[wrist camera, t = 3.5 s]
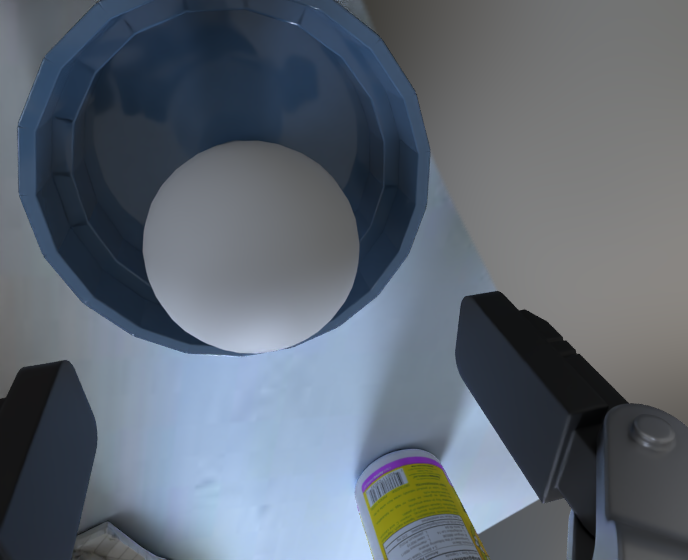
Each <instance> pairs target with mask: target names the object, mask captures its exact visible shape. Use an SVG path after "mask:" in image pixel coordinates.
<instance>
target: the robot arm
mask: <svg viewBox="0 0 688 560" xmlns="http://www.w3.org/2000/svg"><path fill="white" fill-rule="evenodd" d="M455 357H456V364H457V368H458V371H459V374H460V376H461V378H462V379H463V381H464V383H465V384H466V386H467V387H468V389H469V390H470V392H471V393H472V395H473V396H474V398H475V400H476V401H477V403H478V404H479V406H480V407H481V409H482V410H483V412H484V414H485V415H486V417H487V418H488V420H489V421H490V423H491V424H492V426H493V427H494V429H495V431H496V432H497V434H498V435H499V437H500V438H501V440H502V441H503V443H504V445H505V446H506V448H507V449H508V451H509V452H510V454H511V455H512V457H513V458H514V460H515V462H516V463H517V465H518V466H519V468H520V469H521V471H522V472H523V474H524V475H525V477H526V479H527V480H528V482H529V483H530V485H531V486H532V488H533V489H534V491H535V493H536V494H537V496H538V497H539V499H540V500H541V502H542V503H547V502H551V501H555V500H559V499H562V498H565V500H566V501H567V502H568V504H569V506H570V507H571V508H572V510H571V513H570V516H569V524H568V541H567V559H566V560H688V427H687V426H686V425H685V424H683V423H682V422H681V421H679V420H678V419H677V418H675V417H674V416H672V415H670V414H668V413H666V412H664V411H662V410H660V409H657V408H654V407H651V406H648V405H642V404H633V403H630V404H629V403H628V402H627V401H626V400H625V399H624V398H623V397H622V396H621V395H620V394H619V393H618V392H617V391H616V390H615V389H614V388H613V387H612V386H611V385H610V384H609V383H608V382H607V381H606V380H605V379H604V378H603V377H602V376H601V375H600V374H599V373H598V372H597V371H596V370H595V369H594V368H593V367H592V366H591V365H590V364H589V363H588V362H587V361H586V360H585V359H584V358H583V357H582V356H581V355H580V354H577V353H576V350H575V349H574V348H573V347H572V346H571V345H570V344H569V343H568V342H567V341H564V340H563V337H562V336H561V335H560V334H559V333H558V332H557V331H556V330H555V329H554V328H553V327H552V326H551V325H550V324H549V323H548V322H547V321H545V320H543V319H541V318H540V317H538V316H536V315H534V314H532V313H530V312H529V311H527V310H520V311H519V310H518V309H517V308H516V307H515V306H514V305H513V304H512V303H511V302H510V301H509V300H508V299H507V298H506V297H505V296H504V295H503V294H502V293H501V292H499V291H494V292H488V293H482V294H476V295H470V296H465V297H464V298H463V300H462V302H461V307H460V316H459V324H458V332H457V341H456V349H455ZM96 448H97V427H96V421H95V418H94V415H93V412H92V410H91V408H90V405H89V403H88V400H87V398H86V395H85V393H84V391H83V388H82V386H81V383H80V381H79V379H78V376H77V374H76V371H75V369H74V367H73V365H72V364H71V363H70V362H69V361H67V360H64V361H58V362H52V363H46V364H40V365H34V366H28V367H23V368H21V369H20V370H19V372H18V373H17V375H16V378H15V380H14V382H13V384H12V386H11V388H10V390H9V392H8V394H7V397H6V398H2V399H0V560H71V558H72V554H73V550H74V545H75V541H76V536H77V532H78V528H79V523H80V519H81V515H82V510H83V506H84V501H85V497H86V493H87V488H88V484H89V480H90V475H91V471H92V466H93V462H94V458H95V453H96Z"/></svg>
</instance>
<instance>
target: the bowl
mask: <svg viewBox="0 0 688 560" xmlns="http://www.w3.org/2000/svg"><path fill="white" fill-rule="evenodd" d="M17 139H18V192H19V197H20V199H21V202H22V204H23V207H24V209H25V212H26V214H27V217H28V219H29V222H30V224H31V227H32V229H33V232H34V234H35V237H36V239H37V242H38V245H39V247H40V250H41V252H42V254H43V256H44V258H45V259H46V260H47V261H48V263H49V264H50V265H51V266H52V267H53V268H54V270H55V271H56V272H57V273H58V274H59V276H60V277H61V278H62V279H63V280H64V281H65V283H66V284H67V285H68V286H69V287H70V289H71V290H72V291H73V292H74V293H75V294H76V296H77V297H78V298H79V299H80V300H81V302H82V303H84V304H85V305H86V306H88V307H89V308H91V309H93V310H94V311H96V312H97V313H99V314H100V315H102V316H103V317H105V318H106V319H108V320H109V321H111V322H112V323H114V324H115V325H117V326H119V327H120V328H122V329H123V330H125V331H126V332H128V333H129V334H131V335H134V336H135V337H138V338H141V339H144V340H147V341H150V342H153V343H156V344H159V345H162V346H165V347H168V348H172V349H175V350H178V351H181V352H184V353H188V354H203V355H218V356H234V357H240V356H241V357H243V356H249V355H255V354H256V353H238V352H232V351H227V350H223V349H220V348H217V347H215V346H212V345H209V344H207V343H205V342H203V341H201V340H199V339H197V338H196V337H194V336H192V335H191V334H189V333H187V332H186V331H185V330H183V329H182V328H181V327H180V326H179V325H178V324H177V323H176V322H174V321H173V320H172V319H171V317H170V316H169V314H168V313H167V312H166V310H165V309H164V308H163V306H162V305H161V303H160V302H159V301H158V299H157V298H156V296H155V293H154V291H153V289H152V287H151V284H150V282H149V280H148V276H147V272H146V267H145V262H144V256H143V234H144V227H145V223H146V220H147V216H148V213H149V209H150V206H151V203H152V201H153V200H154V198H155V196H156V194H157V193H158V191H159V189H160V187H161V186H162V184H163V183H164V182H165V181H166V180H167V179H168V178H169V177H170V176H171V175H172V173H173V172H174V171H175V170H176V169H177V168H179V167H180V166H181V165H183V164H184V163H185V162H187V161H188V160H190V159H191V158H192V157H194V156H195V155H197V154H198V153H201V152H203V151H205V150H207V149H210V148H212V147H214V146H216V145H221V144H224V143H226V142H229V141H233V140H241V141H263V142H269V143H274V144H279V145H282V146H284V147H287V148H290V149H292V150H295V151H297V152H300V153H302V154H304V155H306V156H307V157H309V158H310V159H312V160H313V161H315V162H316V163H318V164H320V165H321V166H322V167H323V168H324V169H325V170H326V171H327V172H328V173H329V174H330V175H331V176H332V177H333V178H334V180H335V181H336V182H337V184H338V185H339V187H340V188H341V190H342V191H343V193H344V194H345V196H346V198H347V199H348V201H349V203H350V205H351V208H352V211H353V213H354V216H355V219H356V225H357V231H358V238H359V244H360V245H359V260H358V268H357V273H356V276H355V280H354V283H353V287H352V289H351V291H350V293H349V295H348V297H347V299H346V301H345V302H344V304H343V305H342V306H341V308H340V309H339V310H338V311H337V313H336V314H335V315H334V317H333V318H332V319H331V320H330V321H329V322H328V323H327V324H326V325H325V326H324V327H323V328H322V329H321V330H319V331H318V332H317V333H315V334H314V335H312V336H311V337H309V338H308V339H306V340H304V341H302V342H300V343H298V344H295V345H293V346H291V347H288V348H292V347H295V346H297V345H299V344H302V343H304V342H306V341H308V340H311V339H313V338H315V337H317V336H320V335H322V334H324V333H326V332H328V331H331V330H333V329H335V328H337V327H338V326H340V325H342V324H343V323H344V322H346V321H347V320H348V319H349V318H351V317H352V316H353V315H354V314H356V313H357V312H358V311H359V310H361V309H362V308H363V307H364V306H366V305H367V304H368V303H369V302H371V301H372V300H373V299H375V298H376V297H377V295H379V294H380V292H381V291H382V290H383V288H384V287H385V286H386V284H387V283H388V282H389V280H390V279H391V278H392V276H393V275H394V274H395V272H396V271H397V270H398V268H399V267H400V265H401V264H402V263H403V261H404V260H405V259H406V257H407V256H408V254H409V252H410V249H411V247H412V244H413V241H414V239H415V236H416V233H417V231H418V228H419V225H420V223H421V220H422V218H423V215H424V212H425V210H426V205H427V196H428V181H429V166H430V146H429V142H428V138H427V134H426V130H425V126H424V123H423V118H422V114H421V110H420V106H419V102H418V98H417V94H416V93H415V90H414V88H413V87H412V85H411V84H410V82H409V81H408V79H407V77H406V76H405V74H404V73H403V71H402V70H401V68H400V66H399V65H398V63H397V62H396V60H395V58H394V57H393V55H392V54H391V52H390V51H389V49H388V47H387V46H386V44H385V43H384V41H383V40H382V39H381V38H380V36H379V35H378V34H376V33H375V32H374V31H373V30H371V29H370V28H369V27H368V26H366V25H365V24H364V23H363V22H361V21H360V20H359V19H357V18H356V17H355V16H354V15H352V14H351V13H350V12H349V11H347V10H346V9H345V8H344V7H342V6H341V5H340V4H339V3H337V2H336V1H335V0H100V1H99V2H98V3H96V4H95V5H94V6H93V7H92V8H91V9H90V10H89V11H88V12H87V13H86V14H85V15H84V16H83V17H82V18H81V19H80V20H79V21H78V22H77V23H76V24H75V25H74V26H73V27H72V28H71V29H70V30H69V31H68V32H67V33H66V34H65V36H64V37H63V38H62V39H61V40H60V41H59V42H58V43H57V44H56V45H55V46H54V47H53V48H52V49H51V50H50V51H49V52H48V53H47V54H46V55H45V57H44V58H43V60H42V63H41V65H40V68H39V70H38V73H37V76H36V78H35V81H34V83H33V86H32V88H31V91H30V93H29V96H28V99H27V101H26V104H25V106H24V109H23V111H22V114H21V117H20V119H19V122H18V127H17ZM288 348H284V349H288ZM281 350H282V349H281ZM265 353H266V352H265ZM257 354H260V353H257Z"/></svg>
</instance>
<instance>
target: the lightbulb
mask: <svg viewBox="0 0 688 560" xmlns="http://www.w3.org/2000/svg"><path fill="white" fill-rule="evenodd" d="M359 245H360V244H359V238H358V231H357V225H356V219H355V216H354V213H353V211H352V208H351V205H350V203H349V201H348V199H347V198H346V196H345V194H344V193H343V191H342V190H341V188H340V187H339V185H338V184H337V182H336V181H335V180H334V178H333V177H332V176H331V175H330V174H329V173H328V172H327V171H326V170H325V169H324V168H323V167H322V166H321V165H320V164H318V163H316V162H315V161H313V160H312V159H310V158H309V157H307V156H306V155H304V154H302V153H300V152H297V151H295V150H292V149H290V148H287V147H284V146H282V145H279V144H274V143H269V142H263V141H241V140H233V141H229V142H226V143H224V144H221V145H216V146H214V147H212V148H210V149H207V150H205V151H203V152H201V153H198V154H197V155H195V156H194V157H192V158H191V159H190V160H188V161H187V162H185V163H184V164H183V165H181V166H180V167H179V168H177V169H176V170H175V171H174V172H173V173H172V175H171V176H170V177H169V178H168V179H167V180H166V181H165V182H164V183H163V184H162V186H161V187H160V189H159V191H158V193H157V194H156V196H155V198H154V200H153V201H152V203H151V206H150V209H149V213H148V216H147V220H146V223H145V227H144V234H143V256H144V262H145V267H146V272H147V276H148V280H149V282H150V284H151V287H152V289H153V291H154V293H155V296H156V298H157V299H158V301H159V302H160V303H161V305H162V306H163V308H164V309H165V310H166V312H167V313H168V314H169V316H170V317H171V319H172V320H173V321H174V322H176V323H177V324H178V325H179V326H180V327H181V328H182V329H183V330H185V331H186V332H187V333H189V334H191V335H192V336H194V337H196V338H197V339H199V340H201V341H203V342H205V343H207V344H209V345H212V346H215V347H217V348H220V349H223V350H227V351H232V352H238V353H256V354H257V353H265V352H274V351H277V350H281V349H284V348H288V347H291V346H293V345H295V344H298V343H300V342H302V341H304V340H306V339H308V338H309V337H311V336H312V335H314V334H315V333H317V332H318V331H319V330H321V329H322V328H323V327H324V326H325V325H326V324H327V323H328V322H329V321H330V320H331V319H332V318H333V317H334V315H335V314H336V313H337V311H338V310H339V309H340V308H341V306H342V305H343V304H344V302H345V301H346V299H347V297H348V295H349V293H350V291H351V289H352V287H353V283H354V280H355V276H356V273H357V268H358V260H359Z"/></svg>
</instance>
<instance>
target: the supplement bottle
mask: <svg viewBox="0 0 688 560" xmlns="http://www.w3.org/2000/svg"><path fill="white" fill-rule="evenodd" d="M355 500H356V504H357V508H358V511H359V514H360V518H361V521H362V524H363V527H364V530H365V534H366V537H367V540H368V543H369V546H370V550H371V553H372V556H373V559H374V560H490V558H489V556H488V554H487V552H486V550H485V549H484V546H483V545H482V542H481V540H480V539H479V537H478V534H477V533H476V531H475V529H474V527H473V525H472V523H471V521H470V519H469V517H468V515H467V513H466V511H465V509H464V507H463V505H462V503H461V501H460V499H459V497H458V495H457V494H456V491H455V490H454V488H453V486H452V484H451V482H450V480H449V478H448V476H447V474H446V472H445V470H444V468H443V467H442V465H441V463H440V461H439V460H438V459H437V458H436V457H435V456H434V455H433V454H431V453H429V452H427V451H424V450H420V449H405V450H399V451H395V452H392V453H389V454H386V455H384V456H382V457H380V458H379V459H377V460H376V461H374V462H373V463H371V464H370V465H369V466H368V467H367V468H366V469H365V470H364V471H363V473H362V474H361V476H360V477H359V479H358V481H357V483H356V487H355Z"/></svg>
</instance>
